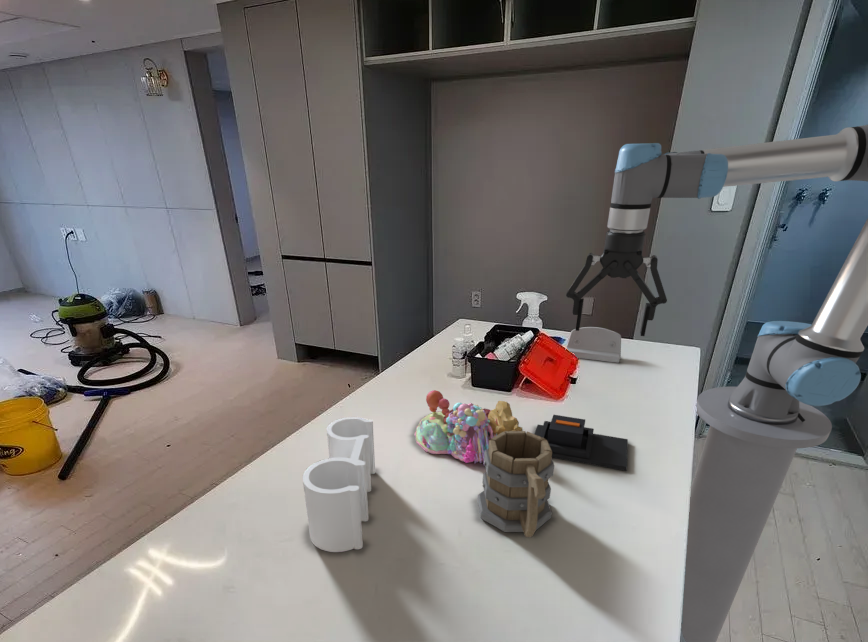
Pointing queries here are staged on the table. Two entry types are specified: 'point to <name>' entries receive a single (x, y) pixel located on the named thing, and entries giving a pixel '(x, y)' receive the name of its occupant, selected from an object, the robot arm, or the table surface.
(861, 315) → the robot arm
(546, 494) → the tankard
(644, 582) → the table surface
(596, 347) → the grey upright panel
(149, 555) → the table surface
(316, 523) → the bracket
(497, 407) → the candy landscape model
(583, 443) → the base pad
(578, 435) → the black orange striped block
